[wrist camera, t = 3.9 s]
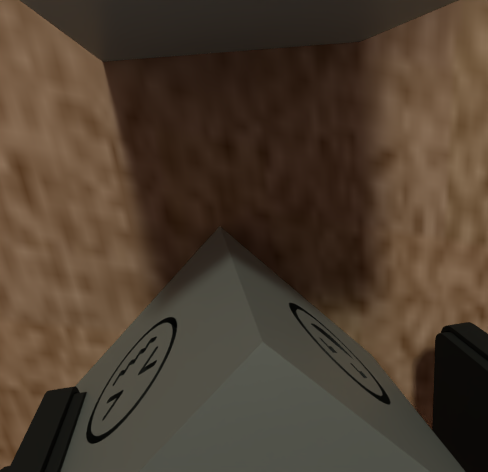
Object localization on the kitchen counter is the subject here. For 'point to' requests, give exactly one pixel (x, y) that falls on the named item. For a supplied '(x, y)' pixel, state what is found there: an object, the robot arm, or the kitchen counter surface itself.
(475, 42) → the kitchen counter surface
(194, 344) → the dice cube
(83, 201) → the kitchen counter surface
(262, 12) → the light gray cube
